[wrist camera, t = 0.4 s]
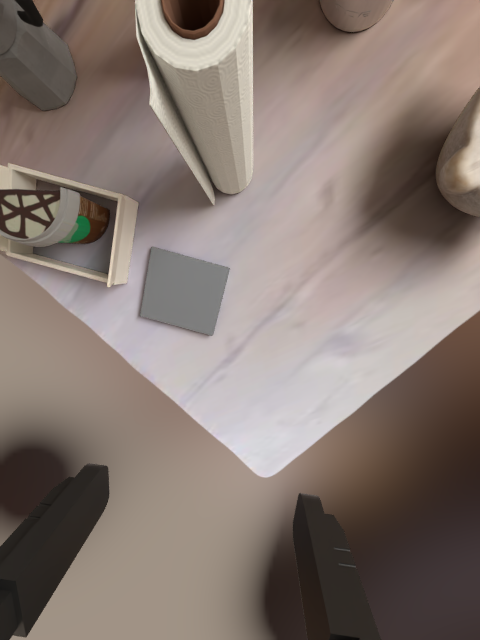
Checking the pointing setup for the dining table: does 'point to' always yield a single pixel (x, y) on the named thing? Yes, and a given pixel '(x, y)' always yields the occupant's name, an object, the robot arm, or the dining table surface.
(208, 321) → the trivet
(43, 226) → the food container
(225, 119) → the paper towel roll
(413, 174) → the dining table surface
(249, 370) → the dining table surface
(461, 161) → the mortar
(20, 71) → the coffeepot
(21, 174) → the carton
